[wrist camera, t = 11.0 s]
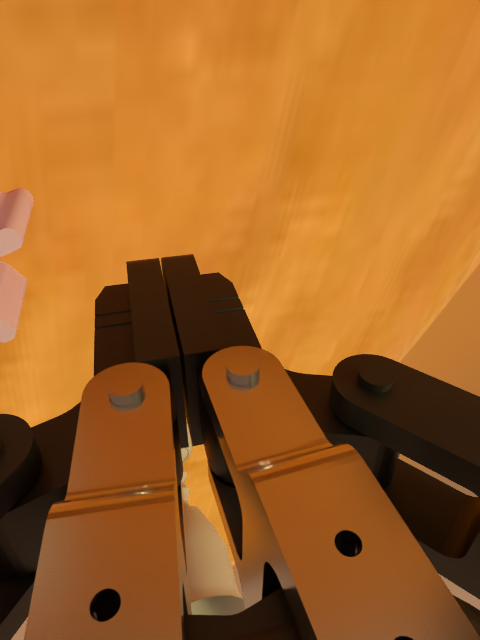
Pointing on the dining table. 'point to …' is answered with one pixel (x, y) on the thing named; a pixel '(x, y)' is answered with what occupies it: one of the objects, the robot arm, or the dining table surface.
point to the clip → (3, 238)
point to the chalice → (207, 561)
